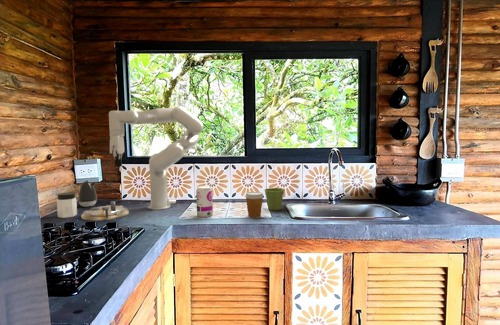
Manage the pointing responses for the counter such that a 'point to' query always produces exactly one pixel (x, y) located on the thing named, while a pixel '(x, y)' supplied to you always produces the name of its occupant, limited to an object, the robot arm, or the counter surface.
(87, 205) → the gray teardrop vessel
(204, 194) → the supplement can
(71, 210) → the jar
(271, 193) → the plant pot
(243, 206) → the counter surface
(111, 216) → the sprocket base
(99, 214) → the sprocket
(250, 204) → the disposable coffee cup
